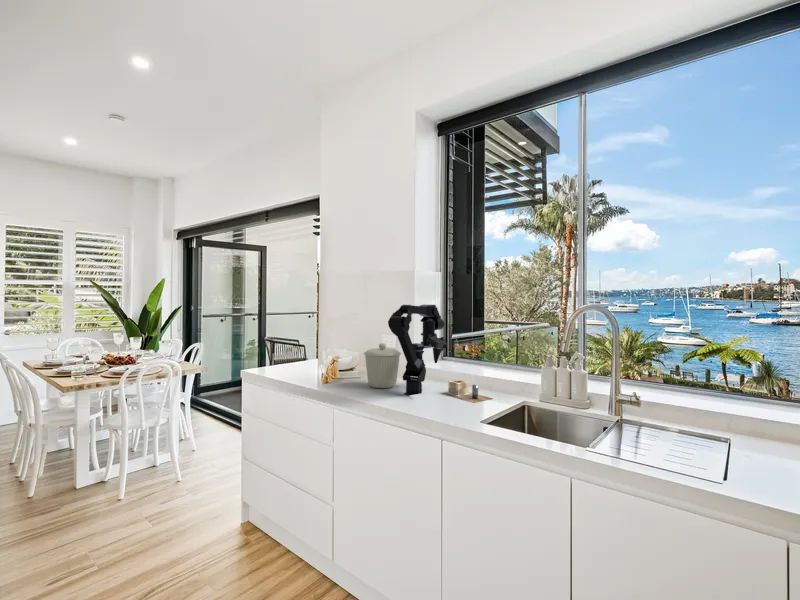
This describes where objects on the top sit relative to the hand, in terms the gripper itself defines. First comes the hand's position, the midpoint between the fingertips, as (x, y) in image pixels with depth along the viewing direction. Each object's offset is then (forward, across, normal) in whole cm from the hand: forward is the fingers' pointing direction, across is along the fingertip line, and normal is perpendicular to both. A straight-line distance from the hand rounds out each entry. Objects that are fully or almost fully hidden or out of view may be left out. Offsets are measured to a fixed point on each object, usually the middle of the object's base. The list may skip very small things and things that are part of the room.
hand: (428, 364), depth 199 cm
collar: (+10, +1, -19) cm, 21 cm away
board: (+12, +1, -24) cm, 27 cm away
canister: (+12, -14, +18) cm, 26 cm away
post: (+10, +1, -29) cm, 31 cm away
